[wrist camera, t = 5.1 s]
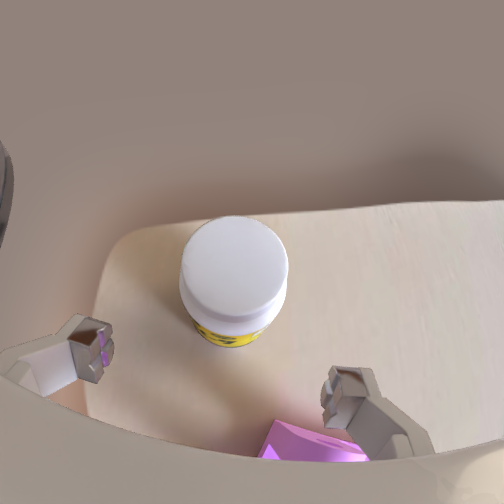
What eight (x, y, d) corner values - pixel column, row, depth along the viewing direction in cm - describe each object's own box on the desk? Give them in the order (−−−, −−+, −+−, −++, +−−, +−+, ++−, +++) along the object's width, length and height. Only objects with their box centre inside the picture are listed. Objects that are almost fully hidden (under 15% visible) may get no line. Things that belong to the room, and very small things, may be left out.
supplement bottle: (176, 314, 19) (143, 265, 11) (225, 260, 20) (227, 184, 13) (235, 365, 18) (243, 354, 10) (283, 307, 19) (323, 255, 12)
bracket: (238, 494, 14) (246, 546, 8) (274, 419, 16) (302, 439, 10) (406, 522, 13) (461, 552, 7) (435, 458, 15) (501, 470, 9)
